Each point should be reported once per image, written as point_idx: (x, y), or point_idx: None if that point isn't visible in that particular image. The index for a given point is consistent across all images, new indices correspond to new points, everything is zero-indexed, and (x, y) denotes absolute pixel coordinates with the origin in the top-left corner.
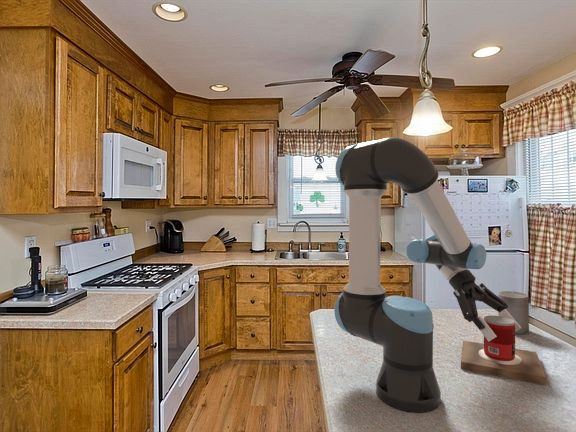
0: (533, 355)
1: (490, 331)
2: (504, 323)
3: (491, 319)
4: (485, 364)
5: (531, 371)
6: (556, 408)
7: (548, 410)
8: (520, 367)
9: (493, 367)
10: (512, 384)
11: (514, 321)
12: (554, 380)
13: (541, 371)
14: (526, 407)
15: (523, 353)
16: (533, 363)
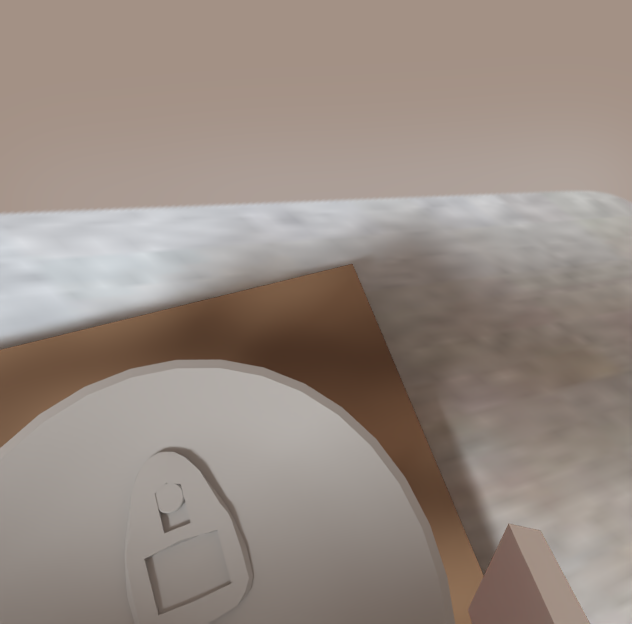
0: (8, 373)
1: (577, 607)
2: (392, 463)
3: None
4: (460, 593)
5: (330, 332)
6: (533, 231)
7: (575, 250)
8: (320, 392)
9: (461, 528)
10: (474, 407)
11: (151, 369)
12: (253, 262)
13: (287, 291)
14: (629, 312)
15: (5, 439)
16: (184, 345)
